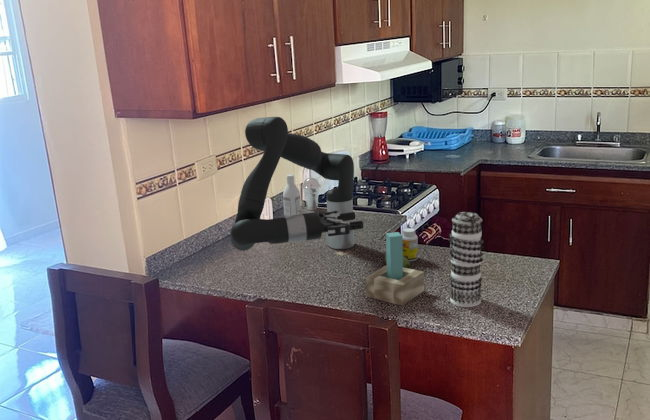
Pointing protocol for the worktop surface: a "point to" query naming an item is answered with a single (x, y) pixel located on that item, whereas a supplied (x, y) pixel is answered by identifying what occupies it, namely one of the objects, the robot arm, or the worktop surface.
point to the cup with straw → (311, 192)
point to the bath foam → (291, 198)
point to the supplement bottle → (410, 244)
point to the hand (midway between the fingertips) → (358, 219)
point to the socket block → (395, 286)
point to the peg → (394, 255)
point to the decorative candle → (466, 259)
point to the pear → (404, 262)
